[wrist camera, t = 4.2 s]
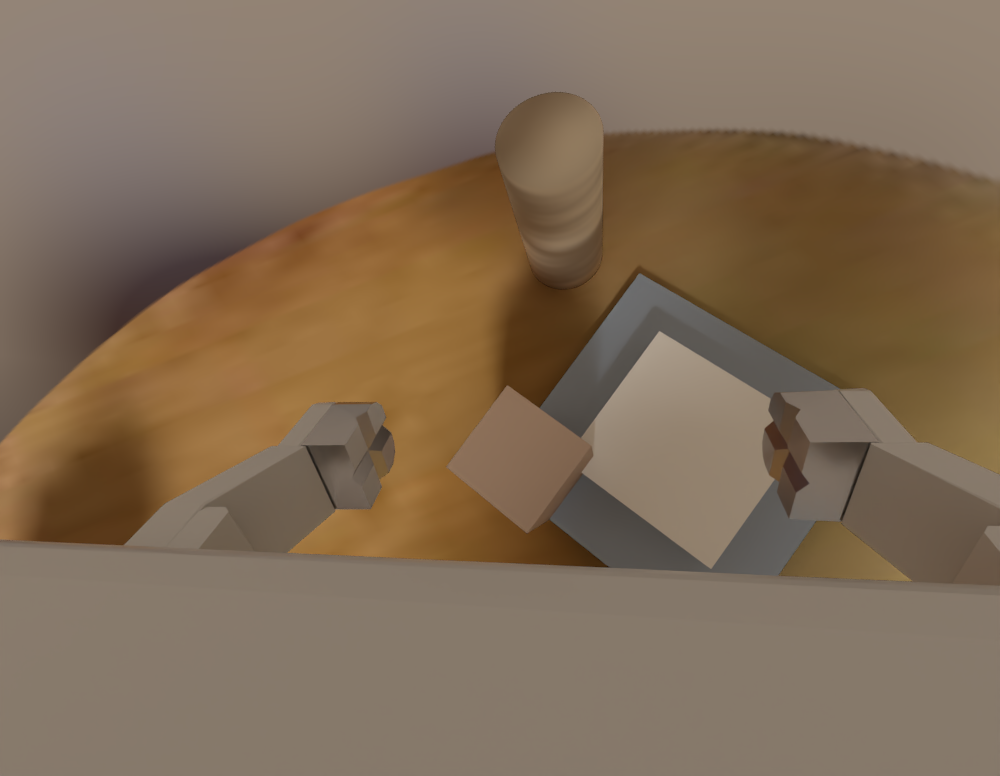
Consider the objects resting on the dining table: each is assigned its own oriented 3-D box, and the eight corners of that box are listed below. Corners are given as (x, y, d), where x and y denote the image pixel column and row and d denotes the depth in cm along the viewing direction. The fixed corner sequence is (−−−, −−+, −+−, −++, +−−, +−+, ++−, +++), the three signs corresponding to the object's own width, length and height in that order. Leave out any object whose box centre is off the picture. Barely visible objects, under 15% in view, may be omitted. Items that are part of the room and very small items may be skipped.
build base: (879, 419, 23) (1036, 381, 15) (716, 651, 23) (785, 746, 14) (638, 279, 27) (655, 186, 19) (494, 473, 27) (446, 467, 18)
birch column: (616, 244, 28) (625, 118, 19) (573, 302, 28) (559, 206, 18) (557, 210, 29) (537, 76, 20) (515, 266, 29) (474, 158, 20)
